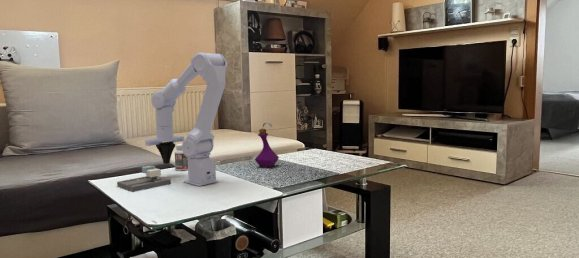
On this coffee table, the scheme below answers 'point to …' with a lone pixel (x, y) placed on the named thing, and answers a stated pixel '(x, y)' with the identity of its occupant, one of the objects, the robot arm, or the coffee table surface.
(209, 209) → the coffee table surface
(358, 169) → the coffee table surface
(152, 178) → the cream fader
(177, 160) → the pill bottle
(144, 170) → the teal fader
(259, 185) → the coffee table surface
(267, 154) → the perfume bottle
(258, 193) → the coffee table surface
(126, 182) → the mixer panel
